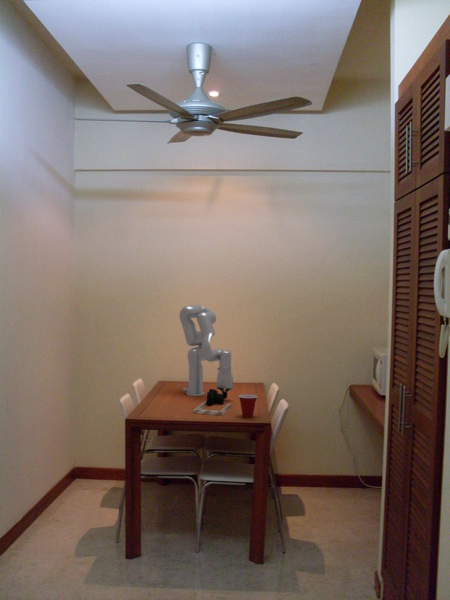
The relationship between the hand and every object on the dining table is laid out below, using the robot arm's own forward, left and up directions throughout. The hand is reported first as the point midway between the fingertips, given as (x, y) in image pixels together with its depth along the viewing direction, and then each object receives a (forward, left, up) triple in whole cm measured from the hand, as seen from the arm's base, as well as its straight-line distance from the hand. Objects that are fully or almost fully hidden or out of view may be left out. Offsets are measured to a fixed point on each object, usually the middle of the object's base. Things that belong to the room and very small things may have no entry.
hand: (224, 398), depth 350 cm
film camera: (-3, -11, -2) cm, 11 cm away
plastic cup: (+23, -34, -2) cm, 41 cm away
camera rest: (0, -26, -1) cm, 26 cm away
